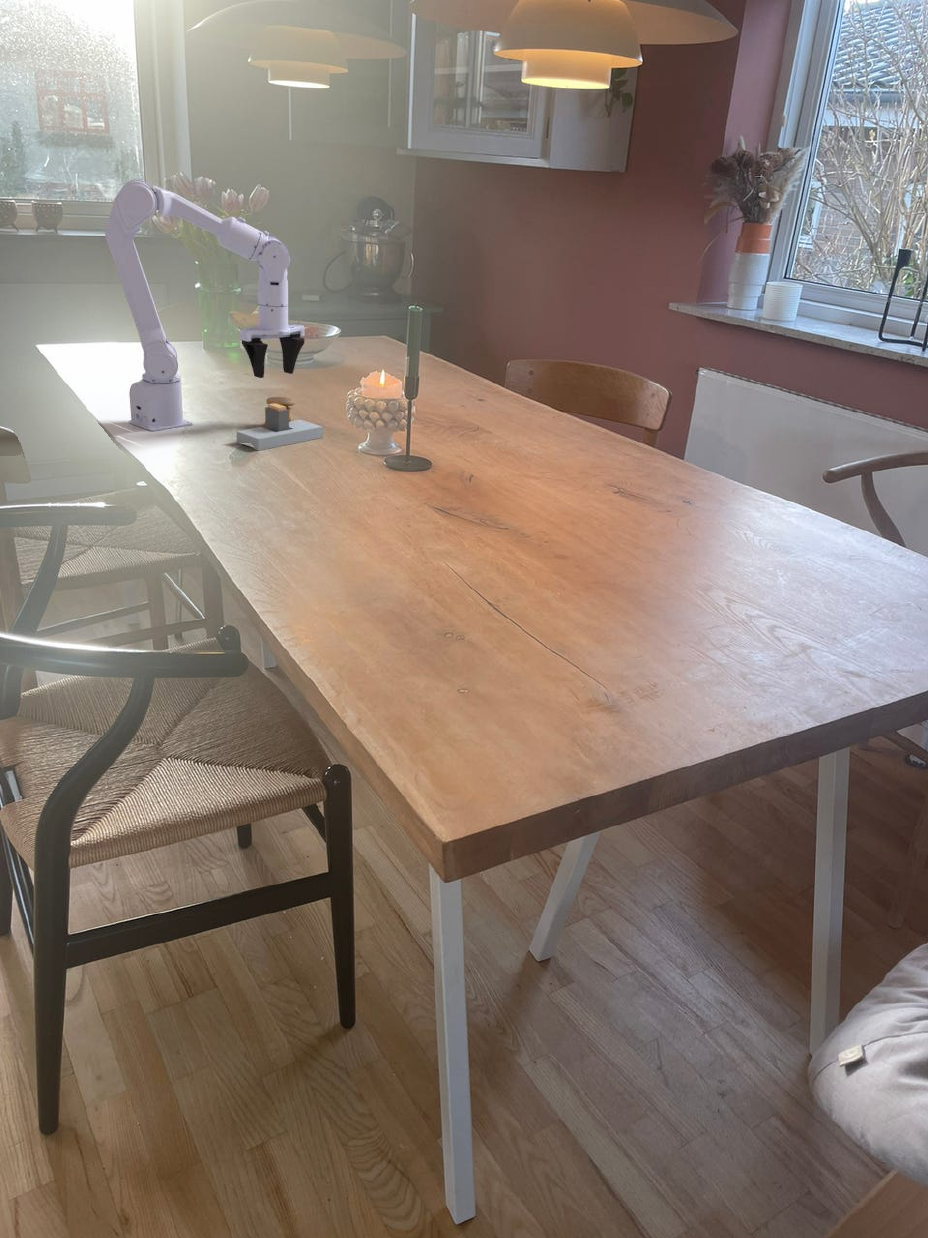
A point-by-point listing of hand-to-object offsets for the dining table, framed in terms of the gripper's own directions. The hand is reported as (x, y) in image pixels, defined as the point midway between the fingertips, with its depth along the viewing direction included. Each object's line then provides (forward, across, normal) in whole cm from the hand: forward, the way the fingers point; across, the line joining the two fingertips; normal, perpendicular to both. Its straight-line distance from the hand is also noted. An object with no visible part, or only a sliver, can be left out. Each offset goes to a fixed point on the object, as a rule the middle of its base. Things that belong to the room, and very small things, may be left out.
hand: (273, 374), depth 190 cm
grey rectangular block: (+10, -7, -9) cm, 15 cm away
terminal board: (+10, -7, -10) cm, 16 cm away
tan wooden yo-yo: (+10, 0, -2) cm, 10 cm away
